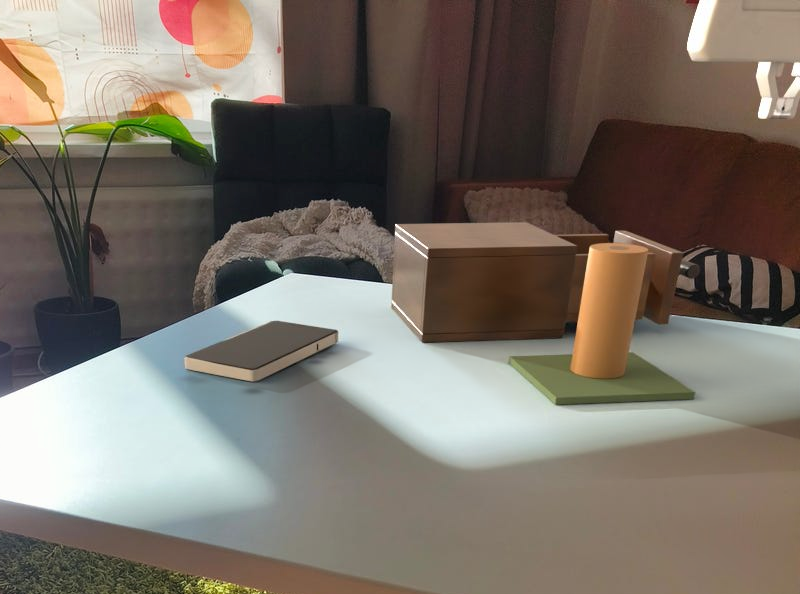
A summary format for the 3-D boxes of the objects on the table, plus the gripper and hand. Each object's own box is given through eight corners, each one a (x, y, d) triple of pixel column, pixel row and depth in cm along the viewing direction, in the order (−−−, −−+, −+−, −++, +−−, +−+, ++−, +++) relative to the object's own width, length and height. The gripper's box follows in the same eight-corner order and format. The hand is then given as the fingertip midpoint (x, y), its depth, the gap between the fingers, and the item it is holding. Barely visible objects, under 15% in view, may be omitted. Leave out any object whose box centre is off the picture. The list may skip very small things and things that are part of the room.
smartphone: (180, 356, 79) (272, 319, 90) (181, 370, 80) (272, 331, 91) (255, 370, 76) (342, 330, 86) (256, 384, 76) (341, 342, 87)
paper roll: (611, 362, 80) (633, 242, 75) (633, 378, 76) (658, 252, 71) (562, 364, 79) (581, 243, 74) (582, 380, 76) (603, 253, 70)
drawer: (649, 294, 102) (662, 229, 99) (707, 323, 91) (724, 251, 88) (500, 298, 100) (507, 232, 96) (541, 328, 89) (551, 255, 85)
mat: (631, 358, 83) (632, 351, 83) (694, 399, 73) (695, 392, 73) (508, 362, 82) (509, 356, 82) (555, 404, 72) (556, 397, 72)
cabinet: (516, 304, 101) (526, 222, 97) (563, 338, 89) (577, 245, 85) (391, 308, 100) (395, 224, 95) (421, 342, 88) (428, 248, 83)
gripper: (731, -67, 76) (692, 120, 84) (946, -60, 79) (889, 121, 86) (695, -59, 82) (661, 116, 89) (898, -53, 84) (848, 117, 92)
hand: (775, 118), depth 88 cm, fingers closed
